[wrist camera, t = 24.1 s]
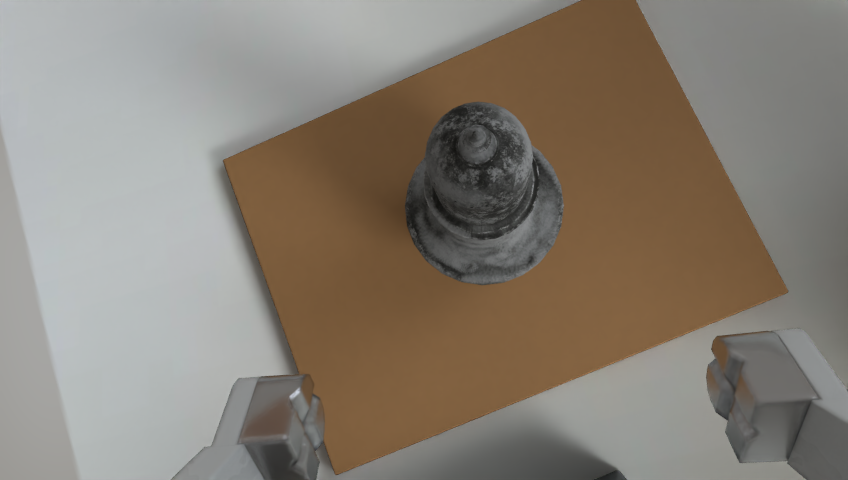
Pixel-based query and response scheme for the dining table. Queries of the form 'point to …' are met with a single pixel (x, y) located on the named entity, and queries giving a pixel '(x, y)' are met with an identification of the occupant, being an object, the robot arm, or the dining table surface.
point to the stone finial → (483, 197)
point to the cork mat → (520, 297)
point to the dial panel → (612, 476)
